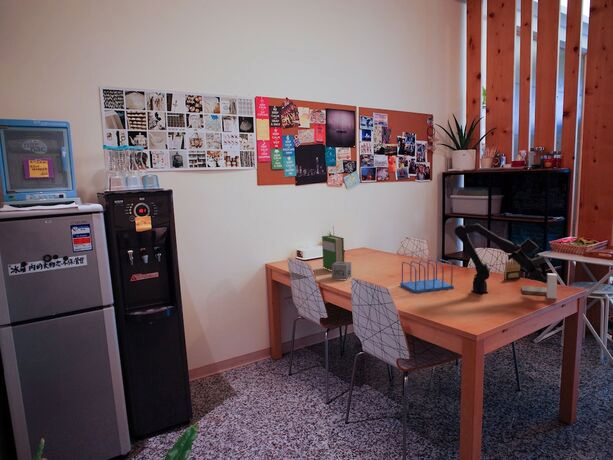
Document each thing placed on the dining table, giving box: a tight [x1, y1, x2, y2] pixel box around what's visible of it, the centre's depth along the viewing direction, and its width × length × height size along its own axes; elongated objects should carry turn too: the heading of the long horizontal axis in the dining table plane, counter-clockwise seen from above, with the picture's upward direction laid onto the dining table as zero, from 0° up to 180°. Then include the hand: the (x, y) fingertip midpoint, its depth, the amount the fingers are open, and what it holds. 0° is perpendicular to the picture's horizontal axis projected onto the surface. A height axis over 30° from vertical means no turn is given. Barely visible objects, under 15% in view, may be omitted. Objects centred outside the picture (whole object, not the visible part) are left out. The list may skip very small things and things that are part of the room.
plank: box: [520, 285, 547, 297], centre depth 216 cm, size 15×10×2 cm, turn 65°
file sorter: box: [399, 258, 455, 294], centre depth 235 cm, size 25×17×15 cm
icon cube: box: [331, 261, 352, 281], centre depth 265 cm, size 10×10×10 cm
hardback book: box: [321, 235, 345, 270], centre depth 289 cm, size 18×7×24 cm, turn 26°
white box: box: [545, 272, 558, 299], centre depth 211 cm, size 4×13×12 cm, turn 155°
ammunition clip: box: [503, 259, 522, 281], centre depth 246 cm, size 11×2×12 cm, turn 106°
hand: (546, 282), depth 208 cm, fingers closed
